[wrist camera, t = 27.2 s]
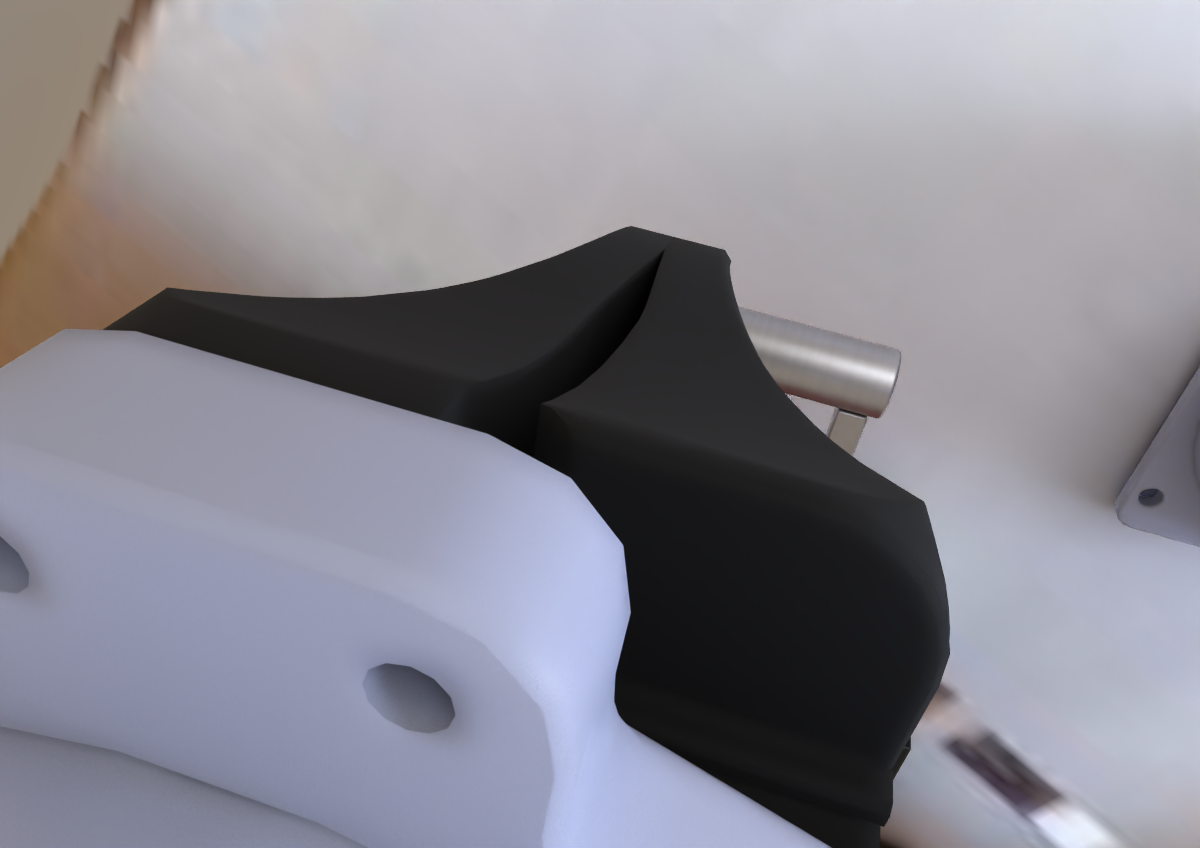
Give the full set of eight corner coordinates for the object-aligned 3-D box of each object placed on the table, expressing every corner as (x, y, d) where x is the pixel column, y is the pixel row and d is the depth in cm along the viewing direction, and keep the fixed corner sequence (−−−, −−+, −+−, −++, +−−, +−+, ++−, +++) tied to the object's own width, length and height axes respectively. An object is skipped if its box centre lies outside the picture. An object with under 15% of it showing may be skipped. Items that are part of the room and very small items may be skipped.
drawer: (554, 187, 22) (438, 305, 16) (982, 297, 20) (1008, 465, 15) (487, 698, 33) (405, 869, 27) (763, 792, 31) (733, 991, 26)
